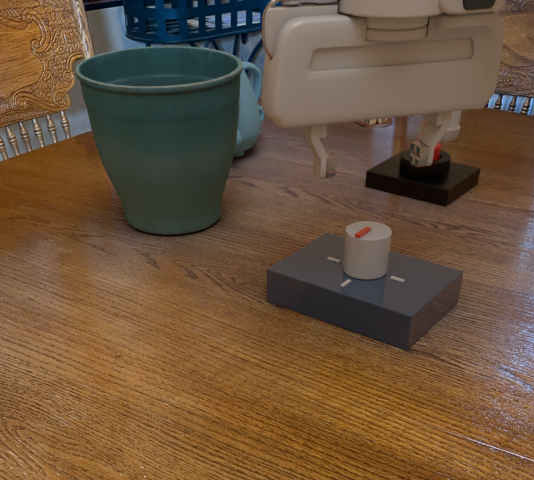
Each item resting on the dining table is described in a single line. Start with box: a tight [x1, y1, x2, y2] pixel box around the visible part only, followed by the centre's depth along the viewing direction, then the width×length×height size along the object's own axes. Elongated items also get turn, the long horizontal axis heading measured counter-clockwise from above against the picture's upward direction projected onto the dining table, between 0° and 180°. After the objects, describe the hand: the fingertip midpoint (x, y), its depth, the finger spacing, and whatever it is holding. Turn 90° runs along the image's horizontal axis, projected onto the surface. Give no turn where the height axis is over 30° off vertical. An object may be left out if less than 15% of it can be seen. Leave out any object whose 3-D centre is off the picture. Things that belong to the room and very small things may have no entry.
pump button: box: [433, 142, 442, 161], centre depth 92 cm, size 4×4×2 cm
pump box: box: [364, 148, 481, 208], centre depth 94 cm, size 12×10×4 cm
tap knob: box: [343, 220, 393, 280], centre depth 67 cm, size 4×4×4 cm
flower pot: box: [75, 45, 243, 236], centre depth 82 cm, size 18×18×17 cm
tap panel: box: [266, 231, 464, 351], centre depth 70 cm, size 16×11×4 cm
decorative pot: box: [205, 47, 266, 158], centre depth 102 cm, size 16×16×14 cm
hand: (372, 170), depth 62 cm, fingers open, 8 cm apart
